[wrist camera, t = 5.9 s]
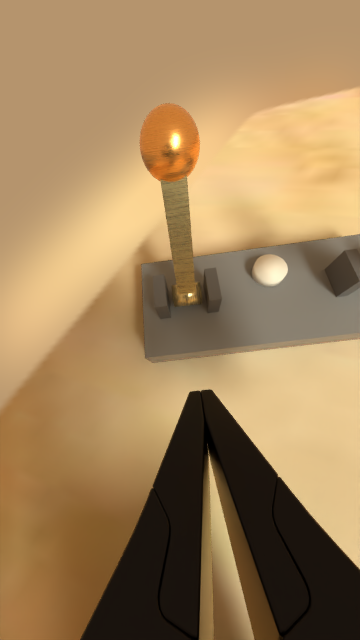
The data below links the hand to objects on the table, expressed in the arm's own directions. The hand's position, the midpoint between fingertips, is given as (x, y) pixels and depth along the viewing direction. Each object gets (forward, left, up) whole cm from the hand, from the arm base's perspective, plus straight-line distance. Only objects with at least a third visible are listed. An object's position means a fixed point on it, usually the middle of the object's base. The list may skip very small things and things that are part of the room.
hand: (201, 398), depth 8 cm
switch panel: (+9, +2, -8) cm, 12 cm away
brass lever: (+4, +5, -4) cm, 8 cm away
